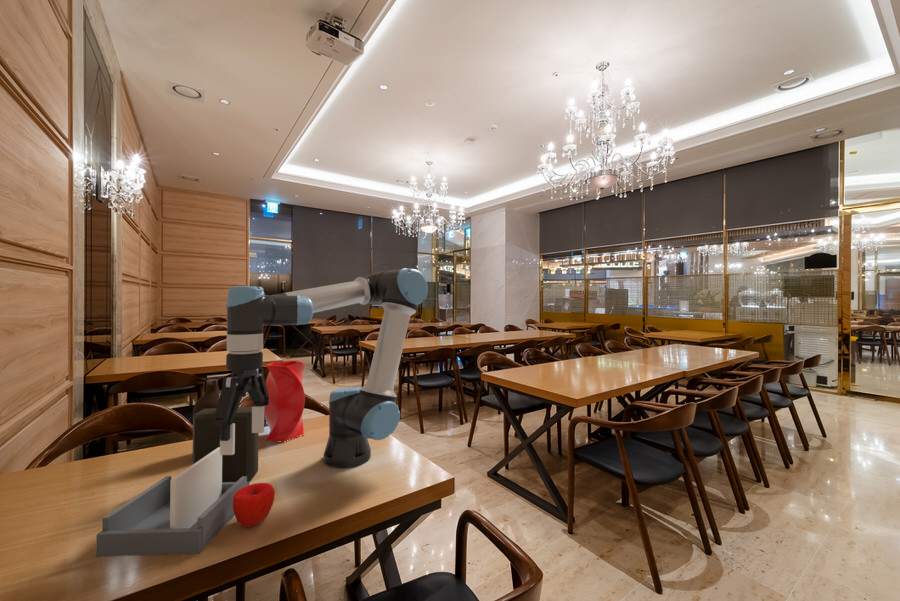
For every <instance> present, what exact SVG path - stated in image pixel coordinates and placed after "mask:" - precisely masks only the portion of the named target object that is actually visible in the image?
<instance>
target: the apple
mask: <svg viewBox="0 0 900 601" xmlns="http://www.w3.org/2000/svg"><path fill="white" fill-rule="evenodd" d="M275 495H276V493H275V488H274V487H273V485H272V484H271V483H268V482H258V483H257V482H256V483H251V484H249V486H246V487H244V488H241V489H240V490H238V491H237V492H236V493H235V495H234V497H233V511H234V517H235V519H236V521H237V522H238V524H239V525H240V526H241V527H244V528H249V527H254V526H256V525H258V524H260V523H262V522H263V521H264V520H265V519H266V518H267V517H268V514H269V513H270V511H271V510H272V507H273V505H274V502H275Z"/></svg>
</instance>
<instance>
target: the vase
mask: <svg viewBox="0 0 900 601" xmlns="http://www.w3.org/2000/svg"><path fill="white" fill-rule="evenodd" d="M265 366H266V368H267V369H268V371H269V372H268V374H267V377H266V380H265V383H266V387H267V391H268V395H269V400H268V401H269V404H268V405H264V420H265V422H266V423H267V425H268V427H269V433H268V435H267V436H266V437H265V438H264V441H267V442H268V441H269V442H276V441H281V442H280V443H285V442H284V441H286V442H288V441H287V440H289V439H292V438H295V437H297V436H300V435H302V434H304V435H305V430H304V423H303V422H304V420H303V413H304V409H305V404H306V394H305V390H304V389H305V388H304V387H303V374H304V370H305V362H302V361H299V360H286V361H285V360H282V361H273V362H270V363H268V364H266V365H265ZM263 396H264V395H263ZM302 420H303V421H302ZM292 440H293V439H292ZM289 441H290V440H289Z"/></svg>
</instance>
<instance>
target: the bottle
mask: <svg viewBox="0 0 900 601" xmlns="http://www.w3.org/2000/svg"><path fill="white" fill-rule="evenodd" d="M220 394H221V392H220ZM220 394H219V398H220ZM252 407H253V406H239V407H238V409H237V412H236V415H235V417H234V420H233V423H235V454H233V455H222V482H237V481H238V480H239V479H240V478H241V477H242V476H247V482H249V483H251V481H252V480H253V478H254V477H255V476H256V474H257V473H258V472H259V433H252ZM216 409H217V408H209V409H203V410H201V411H199V412H198V413H196V414H194V416H193V415H192V417H193V418H192V465H193V464H195V463H196V462H198V461H199V460H200V459H202V458H203V457H205V456H206V455H208V454H209V453H211V452H212V451H214V450H215V449H217V448H218V447H220V425H213V420H214V416H215V412H216ZM192 465H191V466H192Z"/></svg>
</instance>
